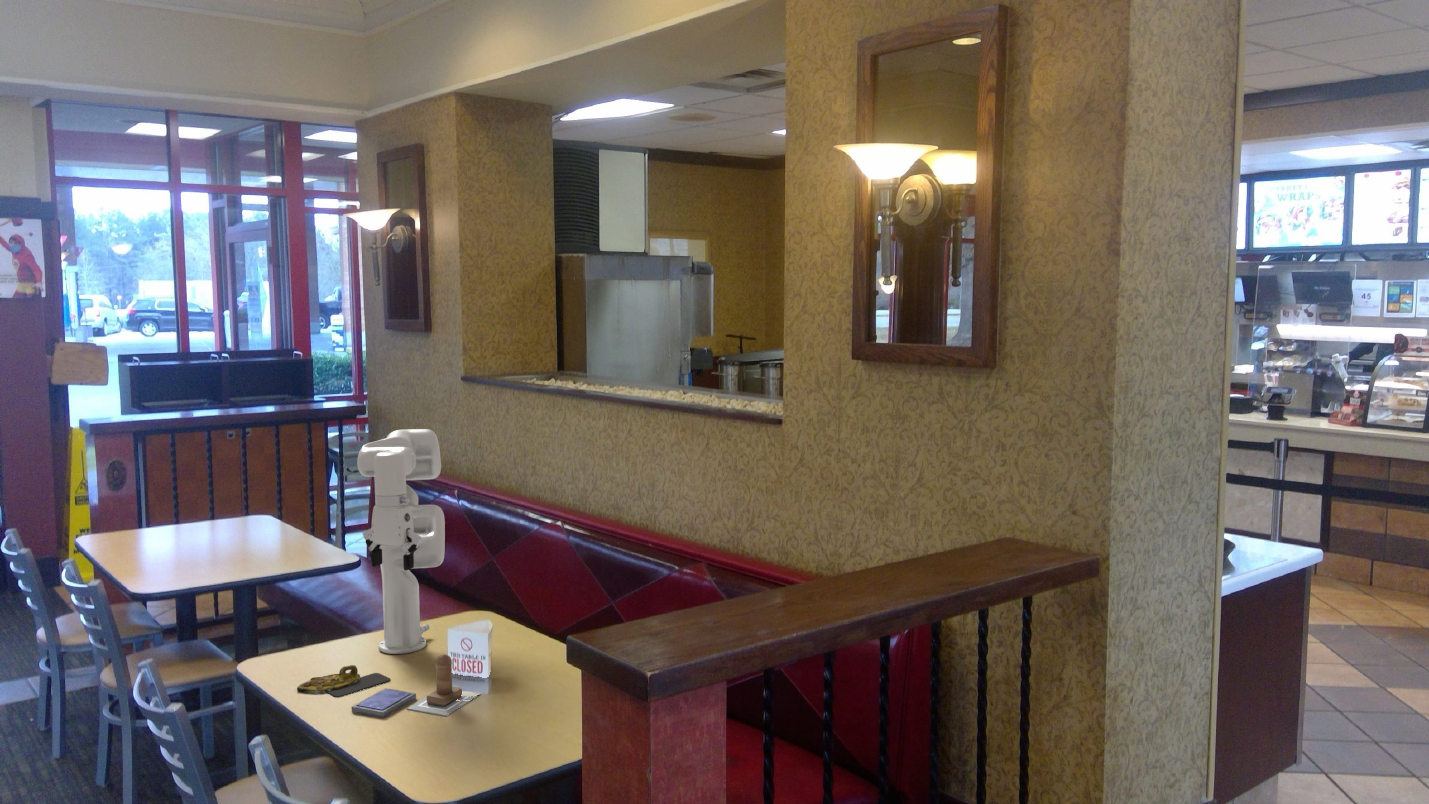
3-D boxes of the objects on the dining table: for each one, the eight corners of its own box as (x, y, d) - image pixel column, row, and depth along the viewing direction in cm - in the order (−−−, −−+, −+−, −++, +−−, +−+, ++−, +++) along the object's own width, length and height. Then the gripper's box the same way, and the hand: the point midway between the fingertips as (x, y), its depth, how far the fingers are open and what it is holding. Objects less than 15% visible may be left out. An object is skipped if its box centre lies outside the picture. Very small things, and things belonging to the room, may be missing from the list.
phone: (321, 689, 248) (376, 672, 259) (321, 692, 248) (376, 675, 259) (336, 697, 243) (392, 679, 254) (337, 700, 243) (392, 682, 254)
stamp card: (443, 688, 250) (443, 686, 249) (481, 694, 246) (480, 692, 246) (407, 709, 236) (407, 708, 236) (446, 716, 233) (446, 715, 233)
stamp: (444, 693, 245) (443, 648, 244) (462, 696, 243) (461, 651, 242) (426, 704, 239) (425, 658, 237) (444, 707, 237) (443, 661, 236)
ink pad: (385, 693, 246) (385, 687, 246) (416, 698, 243) (415, 692, 243) (351, 712, 235) (351, 705, 235) (383, 718, 232) (383, 711, 231)
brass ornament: (302, 702, 243) (365, 688, 252) (301, 684, 242) (365, 671, 251) (293, 687, 251) (354, 673, 259) (292, 669, 250) (354, 656, 258)
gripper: (428, 500, 254) (430, 566, 256) (372, 495, 260) (374, 560, 262) (409, 506, 247) (411, 574, 249) (352, 500, 253) (355, 567, 255)
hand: (392, 567), depth 255 cm, fingers open, 9 cm apart
